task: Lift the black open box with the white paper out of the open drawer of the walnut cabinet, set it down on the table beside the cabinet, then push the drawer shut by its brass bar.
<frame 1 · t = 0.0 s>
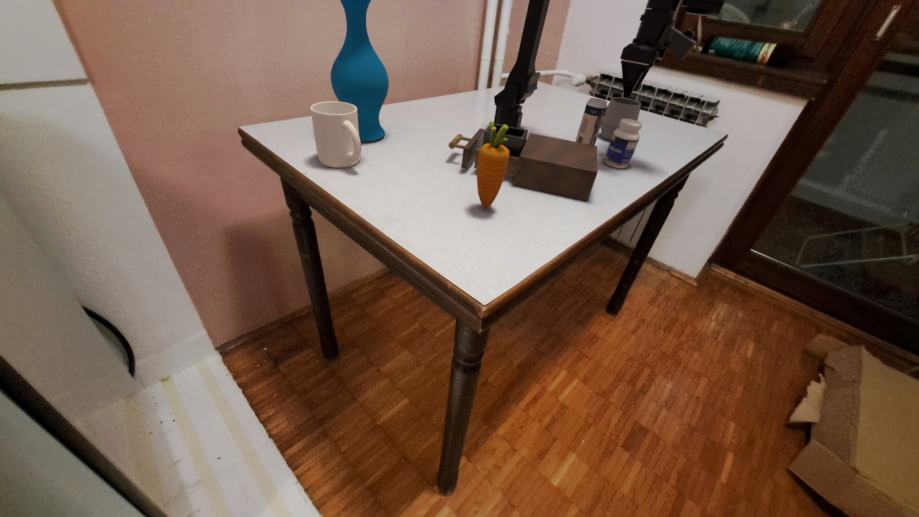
hand: (630, 94, 81), 15 cm above the table, tool pointing down, fingers open, 9 cm apart
drawer: (491, 151, 77), point 3 cm above the table, slide at 10.0 cm, touching black open box
vase: (363, 136, 86), on the table
cup: (612, 139, 102), on the table
pill bottle: (615, 164, 87), on the table
spice jar: (582, 150, 92), on the table
black open box: (501, 158, 78), point 2 cm above the table, touching drawer
cabinet: (553, 178, 77), on the table
mug: (344, 164, 73), on the table
carrot: (485, 209, 64), on the table
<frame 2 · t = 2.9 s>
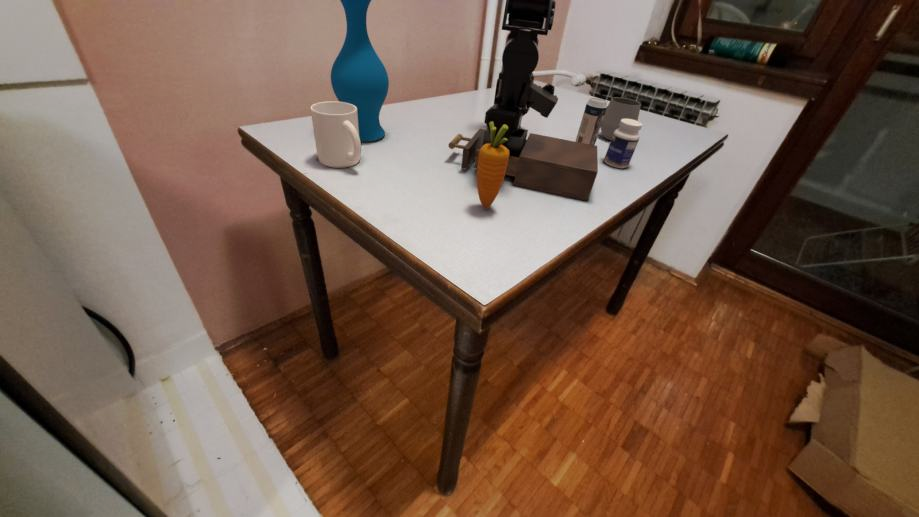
hand: (503, 149, 76), 4 cm above the table, tool pointing down, fingers open, 9 cm apart
drawer: (491, 151, 77), point 3 cm above the table, slide at 10.0 cm, touching gripper, black open box
everything else where it was.
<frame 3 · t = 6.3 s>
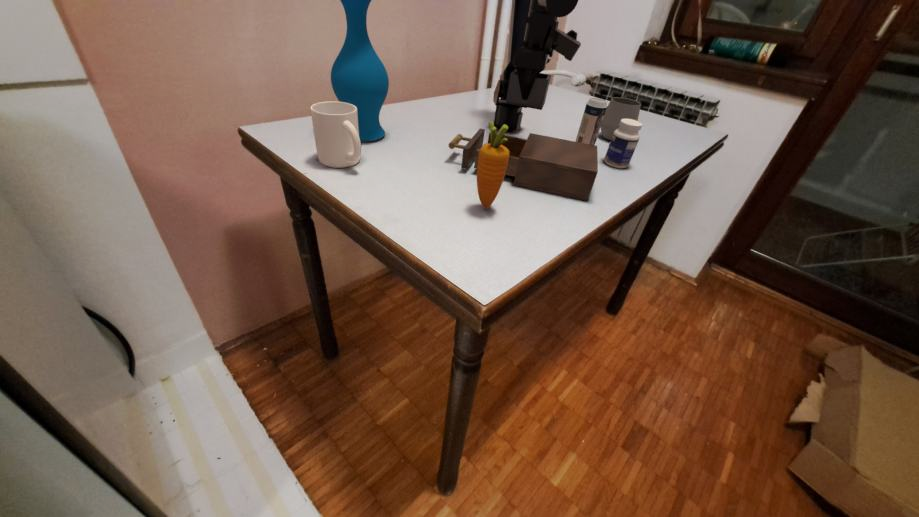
hand: (526, 96, 81), 12 cm above the table, tool pointing down, fingers closed on black open box, 6 cm apart
drawer: (491, 151, 77), point 3 cm above the table, slide at 10.0 cm
black open box: (525, 103, 82), point 11 cm above the table, touching gripper
everything else where it was.
when the fingers open (1 cm above the table, at t = 9.3 s): black open box stays where it is, on the table.
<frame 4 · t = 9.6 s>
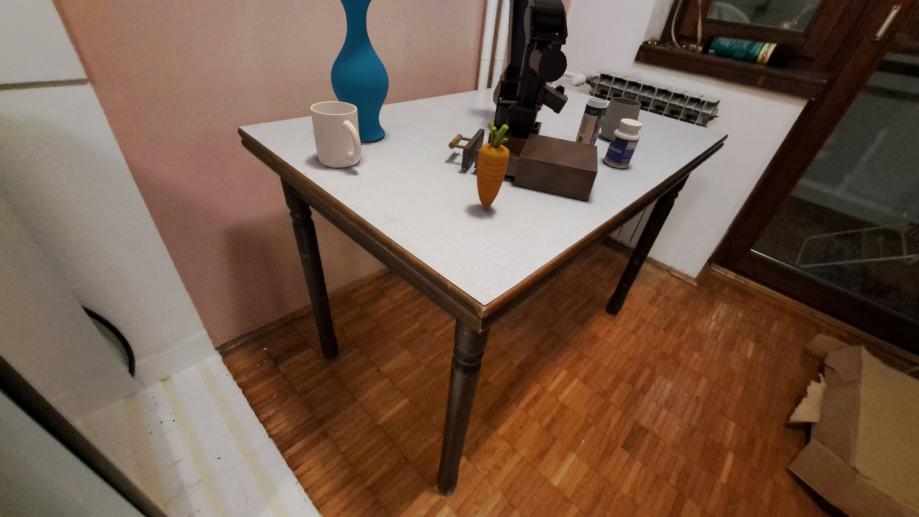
hand: (519, 141, 88), 1 cm above the table, tool pointing down, fingers open, 9 cm apart
black open box: (518, 147, 89), on the table
everything else where it was.
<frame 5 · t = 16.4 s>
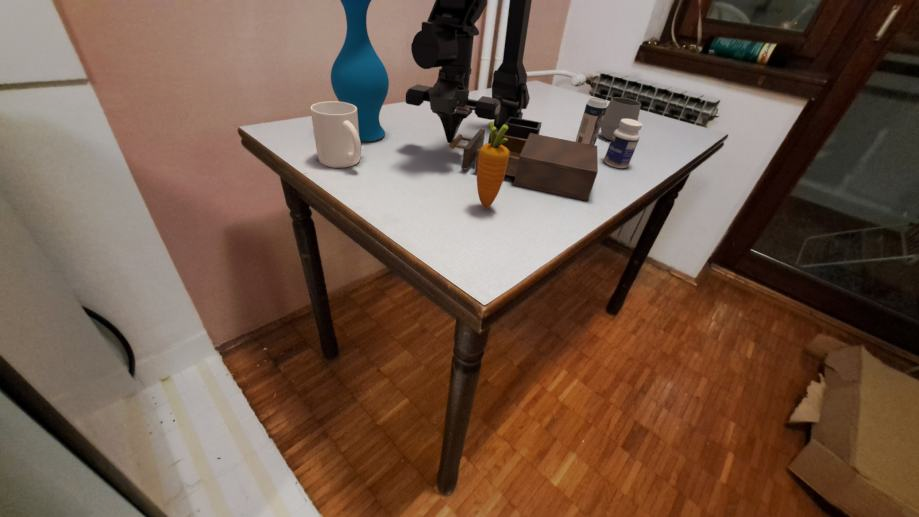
hand: (449, 142, 79), 3 cm above the table, tool pointing down, fingers closed
drawer: (492, 151, 77), point 3 cm above the table, slide at 9.9 cm, touching gripper
everything else where it was.
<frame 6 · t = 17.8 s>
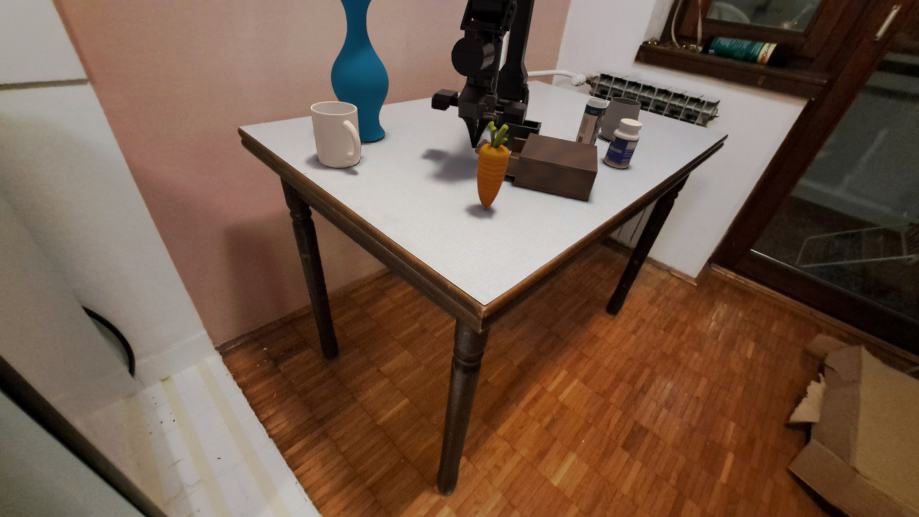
hand: (474, 147, 78), 3 cm above the table, tool pointing down, fingers closed
drawer: (517, 156, 76), point 3 cm above the table, slide at 4.3 cm, touching gripper
everything else where it was.
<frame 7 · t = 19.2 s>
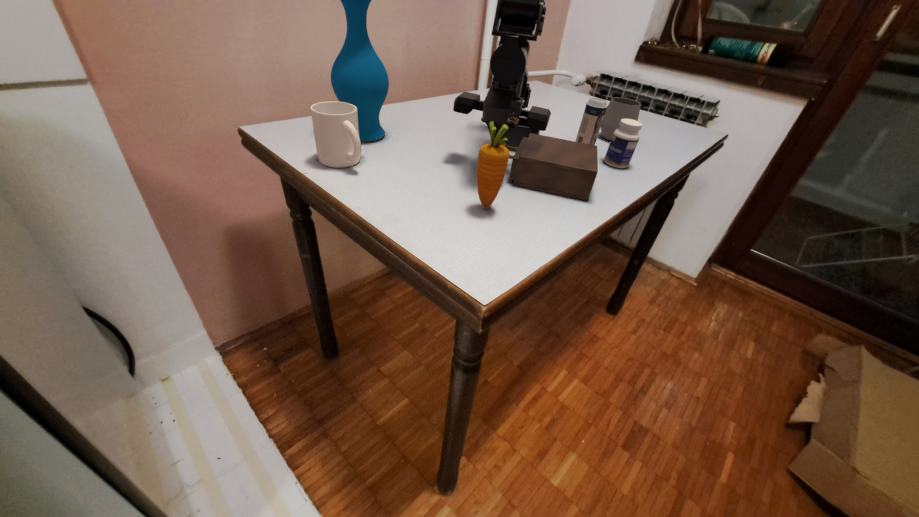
hand: (494, 152, 77), 3 cm above the table, tool pointing down, fingers closed
drawer: (538, 161, 76), point 3 cm above the table, slide at 0.0 cm, touching cabinet, gripper
everything else where it was.
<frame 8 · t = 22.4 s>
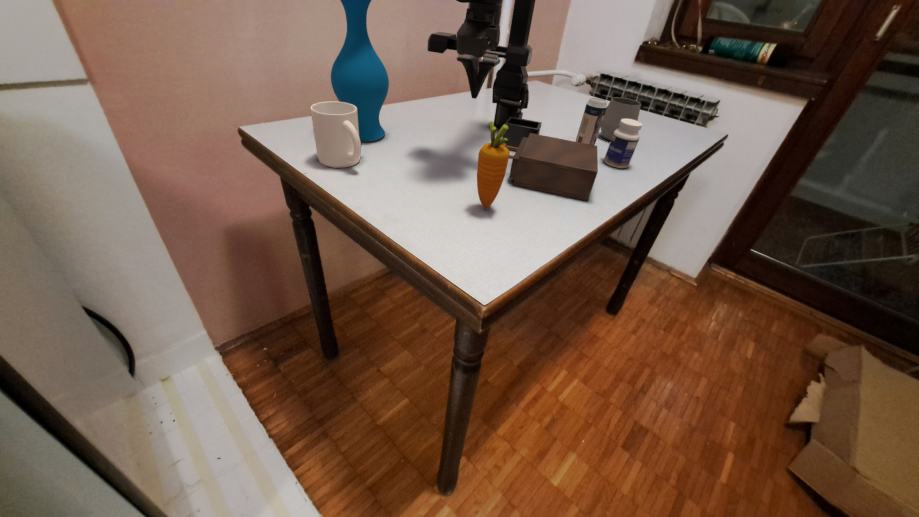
hand: (474, 98, 72), 13 cm above the table, tool pointing down, fingers closed
drawer: (538, 161, 76), point 3 cm above the table, slide at 0.0 cm
everything else where it was.
at the end: black open box inside the target area (0.1 cm from its centre), on the table; black open box tilted 0°; drawer slide at 0.0 cm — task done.
